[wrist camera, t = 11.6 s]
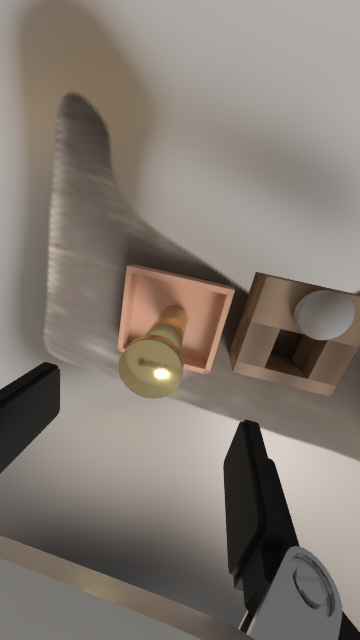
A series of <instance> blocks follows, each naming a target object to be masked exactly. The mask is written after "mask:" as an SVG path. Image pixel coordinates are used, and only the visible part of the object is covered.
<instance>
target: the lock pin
mask: <svg viewBox="0 0 360 640" xmlns="http://www.w3.org/2000/svg"><path fill="white" fill-rule="evenodd" d="M187 322H188V316H187V313H186V311H185V310H184V309H183V308H182V307H180V306H177V305H171V306H168V307H166V308H165V309H164V310H163V311H162V313H161V314H160V315H159V317H158V318H157V320H156V321H155V322H154V324H153V325H152V327H151V328H150V329H149V331H148V332H147V334H146V335H143V336H140V337H138V338H136V339H135V340H134V341H133V342H131V344H130V345H129V346H128V347H127V349H126V350H125V351H124V352H123V354H122V355H121V357H120V360H119V367H118V368H119V374H120V377H121V379H122V381H123V382H124V384H125V385H126V386H127V387H128V388H129V389H130V390H131V391H133V392H134V393H136V394H138V395H140V396H143V397H147V398H161V397H165V396H168V395H170V394H171V393H173V392H174V391H175V390H176V389H177V388H178V386H179V384H180V382H181V379H182V373H183V368H184V360H183V356H182V353H181V351H180V350H181V346H182V342H183V338H184V334H185V330H186V326H187Z"/></svg>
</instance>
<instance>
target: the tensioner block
mask: <svg viewBox="0 0 360 640" xmlns="http://www.w3.org/2000/svg"><path fill="white" fill-rule="evenodd" d="M280 329H284V330H288V331H292V332H296V333H301V334H303V336H302V338H301V340H300V342H299V344H298V346H297V349H296V351H295V353H294V355H293V357H292V359H290V358H286V357H282V356H278V355H274V354H270V353H271V351H272V348H273V346H274V343H275V341H276V338H277V336H278V334H279V331H280ZM359 347H360V296H359V295H356V294H352V293H347V292H343V291H339V290H334V289H330V288H325V287H321V286H317V285H312V284H307V283H303V282H298V281H294V280H290V279H285V278H281V277H276V276H271V275H267V274H263V273H258V272H256V274H255V277H254V280H253V283H252V286H251V289H250V292H249V295H248V298H247V301H246V304H245V307H244V310H243V313H242V316H241V319H240V322H239V325H238V328H237V331H236V334H235V337H234V340H233V343H232V346H231V349H230V352H229V357H230V361H231V366H232V370H233V372H234V373H238V374H242V375H246V376H250V377H254V378H258V379H262V380H266V381H270V382H274V383H278V384H282V385H286V386H290V387H294V388H298V389H302V390H306V391H310V392H314V393H318V394H322V395H326V396H331V394H332V393H333V391H334V389H335V388H336V386H337V384H338V382H339V381H340V379H341V377H342V376H343V374H344V372H345V371H346V369H347V367H348V365H349V364H350V362H351V360H352V359H353V357H354V355H355V353H356V352H357V350H358V348H359Z"/></svg>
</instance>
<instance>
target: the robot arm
mask: <svg viewBox="0 0 360 640" xmlns="http://www.w3.org/2000/svg"><path fill="white" fill-rule="evenodd" d="M59 410H60V369H58V366H57V365H55V364H51V363H48V362H44V363H42V364H40V365H39V366H37V367H36V368H34V369H32V370H31V371H29V372H28V373H26V374H25V375H23V376H21V377H20V378H18V379H17V380H15V381H13V382H12V383H10V384H9V385H7V386H5V387H4V388H2V389H1V390H0V473H1V472H2V471H3V470H4V469H5V468H6V467H7V466H8V465H9V464H10V463H11V462H12V461H13V460H14V459H15V458H16V457H17V456H18V455H19V454H20V453H21V452H22V451H23V450H24V449H25V448H26V447H27V446H28V445H29V444H30V443H31V442H32V441H33V440H34V439H35V438H36V437H37V436H38V435H39V434H40V433H41V431H43V429H45V428H46V426H47V425H48V424H49V423H50V422H51V421H52V420H53V419H54V418H55V417H56V416H57V415H58V413H59ZM224 489H225V509H226V530H227V550H228V568H229V572H230V574H232V575H234V588H235V589H239V590H241V591H244V602H245V607H246V608H247V612H246V614H245V616H244V618H243V620H242V622H241V624H240V626H239V628H238V629H236V628H234V627H232V626H230V625H228V624H226V623H224V622H222V621H220V620H218V619H216V618H213V617H211V616H208V615H206V614H203V613H201V612H199V611H196V610H194V609H191V608H189V607H186V606H184V605H182V604H179V603H177V602H174V601H172V600H169V599H167V598H164V597H162V596H159V595H156V594H154V593H151V592H149V591H146V590H143V589H141V588H138V587H135V586H133V585H130V584H128V583H125V582H122V581H120V580H117V579H114V578H112V577H109V576H107V575H104V574H101V573H99V572H96V571H94V570H91V569H88V568H86V567H83V566H80V565H77V564H75V563H72V562H69V561H67V560H64V559H61V558H59V557H56V556H54V555H51V554H48V553H46V552H43V551H40V550H38V549H35V548H32V547H29V546H27V545H24V544H21V543H19V542H16V541H13V540H11V539H8V538H5V537H2V536H0V640H360V632H359V631H358V630H357V629H356V627H355V626H354V625H353V624H352V622H351V621H350V620H349V619H348V618H347V616H346V615H345V614H344V612H343V611H342V605H341V600H340V596H339V593H338V590H337V588H336V585H335V583H334V581H333V579H332V578H331V576H330V574H329V573H328V571H327V569H326V568H325V567H324V566H323V564H322V563H321V562H320V561H319V560H318V559H317V558H316V557H315V556H314V555H313V554H312V553H311V552H309V551H308V550H306V549H304V548H302V547H300V546H299V543H298V540H297V536H296V533H295V530H294V526H293V523H292V519H291V516H290V513H289V509H288V506H287V503H286V499H285V496H284V493H283V489H282V486H281V483H280V479H279V476H278V473H277V470H276V466H275V464H274V462H273V461H272V460H271V459H269V458H268V456H267V453H266V449H265V445H264V442H263V438H262V434H261V431H260V427H259V424H258V423H256V422H253V421H249V420H244V422H240V423H239V426H238V428H237V431H236V433H235V435H234V438H233V440H232V443H231V445H230V448H229V450H228V453H227V455H226V458H225V461H224Z"/></svg>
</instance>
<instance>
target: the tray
mask: <svg viewBox="0 0 360 640" xmlns="http://www.w3.org/2000/svg"><path fill="white" fill-rule="evenodd" d="M234 292H235V290H234V288H233V287H232V286H229V285H224V284H220V283H216V282H211V281H207V280H203V279H198V278H194V277H189V276H185V275H181V274H176V273H172V272H168V271H163V270H159V269H154V268H150V267H146V266H141V265H137V264H133V265H127V269H126V278H125V286H124V295H123V304H122V313H121V322H120V331H119V340H118V349H117V352H120V353H123V352H124V351H125V350H126V349H127V347H128V346H129V345H130V344H131V342H133V341H134V340H135V339H136V338H138V337H140V336H143V335H146V334H147V332H148V331H149V329H150V328H151V327H152V325H153V324H154V322H155V321H156V320H157V318H158V317H159V315H160V314H161V313H162V311H163V310H164V309H165V308H166V307H168V306H171V305H177V306H180V307H182V308H183V309H184V310H185V311H186V313H187V316H188V322H187V326H186V330H185V334H184V338H183V342H182V346H181V350H180V351H181V353H182V356H183V360H184V369H188V370H192V371H196V372H199V373H203V374H207V375H209V373H210V370H211V367H212V363H213V360H214V357H215V354H216V350H217V347H218V344H219V341H220V337H221V334H222V331H223V328H224V324H225V321H226V318H227V315H228V311H229V308H230V305H231V302H232V298H233V295H234Z"/></svg>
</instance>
